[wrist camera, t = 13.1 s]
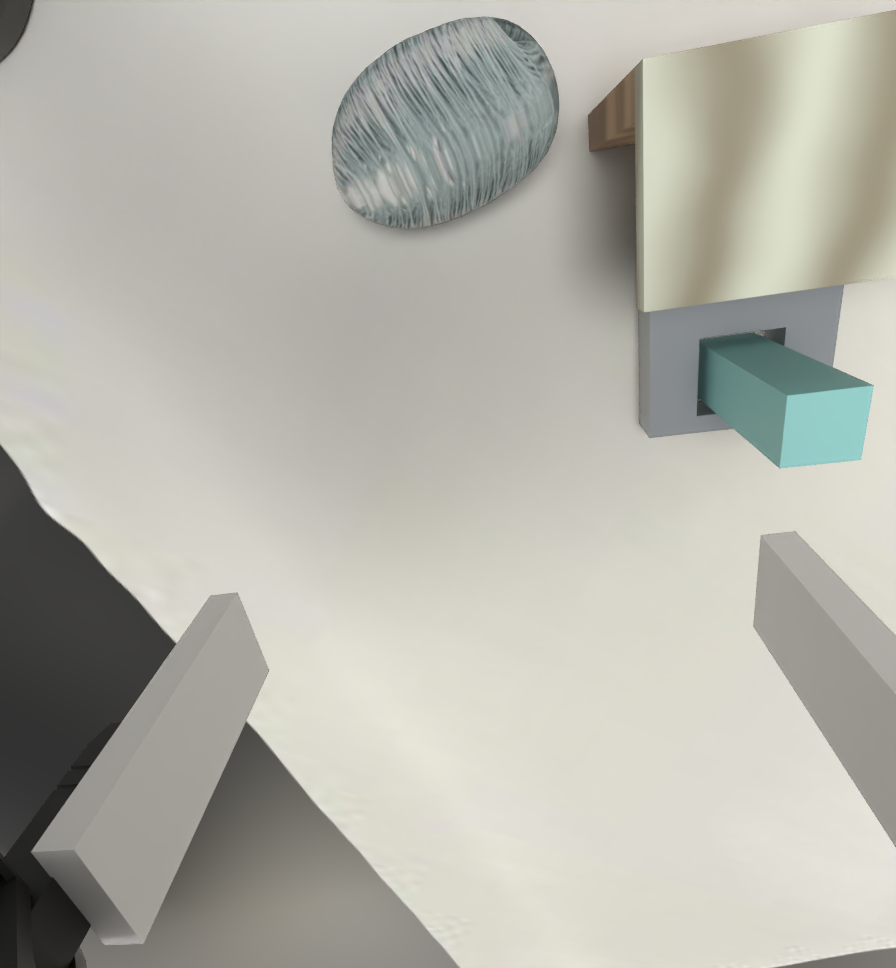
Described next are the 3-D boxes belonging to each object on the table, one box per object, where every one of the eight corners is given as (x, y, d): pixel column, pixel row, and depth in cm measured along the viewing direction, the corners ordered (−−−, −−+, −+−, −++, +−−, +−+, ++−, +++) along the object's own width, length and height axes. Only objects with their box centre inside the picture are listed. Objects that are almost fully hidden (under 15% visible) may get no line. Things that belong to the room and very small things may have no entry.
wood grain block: (594, 281, 40) (643, 312, 27) (588, 115, 35) (643, 58, 23) (871, 240, 37) (1066, 253, 25) (899, 58, 33) (1151, -40, 21)
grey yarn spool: (539, -53, 30) (527, 17, 24) (576, 132, 37) (574, 219, 31) (323, 52, 35) (274, 128, 29) (392, 196, 42) (363, 279, 36)
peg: (693, 393, 42) (779, 468, 30) (695, 340, 41) (787, 395, 28) (749, 386, 42) (860, 460, 29) (753, 332, 40) (873, 385, 28)
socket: (639, 424, 44) (649, 438, 41) (638, 228, 38) (649, 229, 35) (804, 405, 42) (825, 418, 40) (828, 198, 36) (855, 196, 34)
